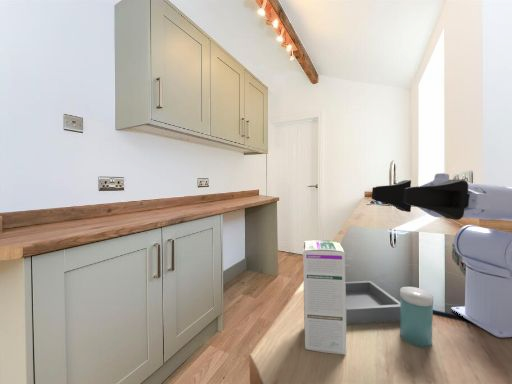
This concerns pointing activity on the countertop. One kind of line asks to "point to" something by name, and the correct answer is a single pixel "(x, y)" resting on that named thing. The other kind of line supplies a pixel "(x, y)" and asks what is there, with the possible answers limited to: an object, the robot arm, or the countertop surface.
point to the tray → (369, 304)
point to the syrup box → (324, 296)
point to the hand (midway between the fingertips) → (387, 194)
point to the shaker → (416, 316)
